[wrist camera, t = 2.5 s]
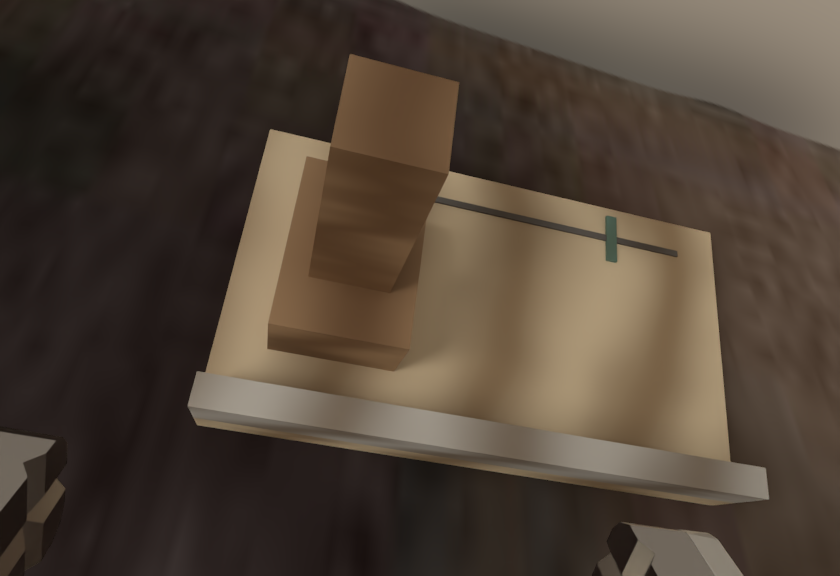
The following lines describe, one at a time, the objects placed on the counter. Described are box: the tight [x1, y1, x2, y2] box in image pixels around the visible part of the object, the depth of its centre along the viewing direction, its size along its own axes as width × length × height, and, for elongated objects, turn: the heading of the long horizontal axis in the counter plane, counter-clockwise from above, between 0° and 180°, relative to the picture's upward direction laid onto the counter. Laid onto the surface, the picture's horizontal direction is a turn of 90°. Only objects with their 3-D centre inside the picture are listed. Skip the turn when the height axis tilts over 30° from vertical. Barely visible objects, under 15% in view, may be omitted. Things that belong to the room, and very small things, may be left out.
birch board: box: [188, 129, 769, 506], centre depth 27 cm, size 22×13×4 cm, turn 83°
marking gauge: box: [267, 54, 459, 372], centre depth 21 cm, size 5×8×11 cm, turn 173°
